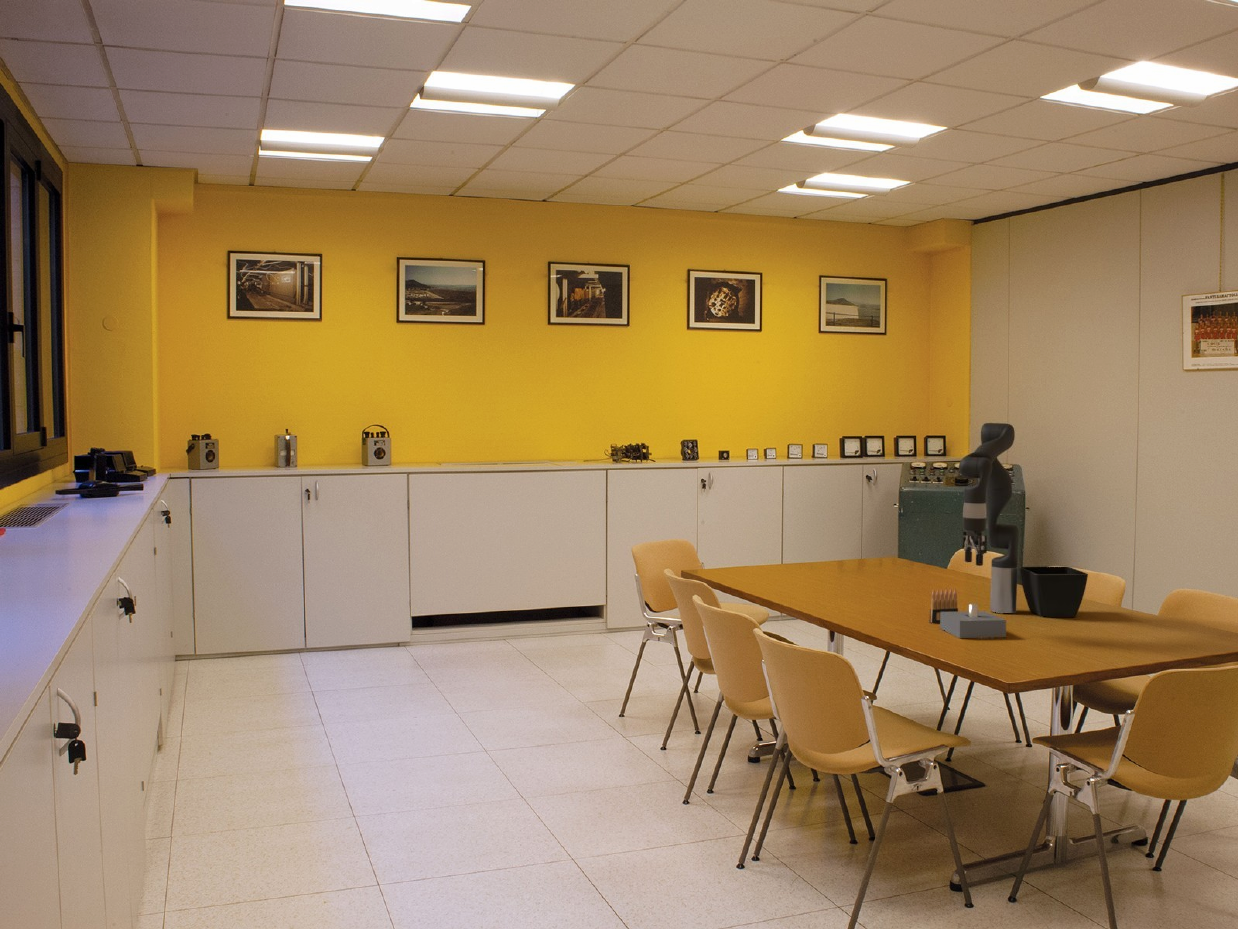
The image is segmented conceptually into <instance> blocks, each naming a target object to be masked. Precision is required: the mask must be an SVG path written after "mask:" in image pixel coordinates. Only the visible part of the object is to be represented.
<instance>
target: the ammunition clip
mask: <svg viewBox="0 0 1238 929" xmlns="http://www.w3.org/2000/svg"><path fill="white" fill-rule="evenodd" d="M952 590H953V589H951V588H950V590H949V592H948V590H947V588H946V589H945V591H944V590H943V589H941V590H940V591H939V589H937V590H936V592H935V589H933V590H932V592H931V601H930V609H929V620H928V621H929V624H932V623H938V624H940V612H959V608H958V596H957V595H958V594H957V593H958V592H957V590H956V588H954V590H953V591H952Z"/></svg>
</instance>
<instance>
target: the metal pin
mask: <svg viewBox="0 0 1238 929" xmlns="http://www.w3.org/2000/svg"><path fill="white" fill-rule="evenodd" d="M967 611H968V617H978V611H979V604H977V603H968V610H967Z"/></svg>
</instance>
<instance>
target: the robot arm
mask: <svg viewBox="0 0 1238 929" xmlns="http://www.w3.org/2000/svg"><path fill="white" fill-rule="evenodd" d="M1015 435H1016V434H1015V428H1014V427H1013V425H1012V424H1009V423H1006V422H1005V423H1004V422H1001V423H1000V422H985V423H984V424H982V426H981V429H980V442H981V443H980V445H979V446H977V448H976V449H975V450H974V452H971V453H968V454H967V455H965V456H964V457H963V458H962V459H961V460H960V462H959V465H958V472H959V475H961V476H962V477H963V478H966V479H979V480H978V482H977V483H975V484H969V485H966V486H965V487H964V490H963V507H962V508H963V509H962V529H963V531H962V532H961V549H963V551H964V562H965V563H972V562H973V560H972V559H973V551H972V550H974V551H975V565H976V566H979V567H982V566H983V565H984V555H985V554H987V553H988V546H987V545H989V547H990V548H992V549H1002V550H1003V549H1004V550H1008V551H1007V553H1005V554H1003V555H1001V556H1000V555H999V556H997V557H994V558H992V559H991V563H990V564H991V568H990V569H991V571H990V599H989V600H990V605H989V606H990V607H989V610H990V612H992V613H995V612H996V614H1003V613H1013V614H1016V613H1017V606H1018V604H1017V602H1018V601H1017V600H1018V558H1019V557H1018V556H1019V554H1018V553H1019V543H1020V542H1019V540H1020V530H1019V527H1018V526H1017V525H1016V524H1002V523H1001V524H1000V523H998V519H999V517H1000V515H1001V513H1002V512H1003V510H1004V508H1006V506H1007V505H1008V504H1009V502H1010V500H1011V499H1012V497H1013V485H1012V484H1013V483H1012V480H1013V479H1012V477H1011V475H1010V474H1009V471H1008V470H1007V469H1006V468H1005V467H1004V465H1003V464H1002V463H1001V461H1000V460H999V459H998V457H999V456H1000V455H1002V454H1003V453H1005V452H1007V451H1008V450H1009V449H1010V448H1011V447H1013V445H1014V442H1015ZM986 530H987V535H983V533H982V532H984V531H986Z"/></svg>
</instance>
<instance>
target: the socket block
mask: <svg viewBox="0 0 1238 929" xmlns="http://www.w3.org/2000/svg"><path fill="white" fill-rule="evenodd" d="M939 630H941V631H943V630H945V631H946V633H947V632H948V633H947V634H949V633H951V634H953V635H954V636H953V635H952V636H953V637H955V636H956V638H957V637H959V638H978V639H989V638H988V637H991V638H990V639H995V638H994V637H1006V638H1007V620H1006V619H1004V618H1002V617H999V616H997V615H994V614H993V613H990V612H987V611H986V610H982V611H981V610H978V617H968V610H967V611H958V612H940V623H939ZM945 631H944V632H945ZM951 634H950V635H951ZM981 637H982V638H981ZM984 637H985V638H984ZM959 638H958V639H959Z"/></svg>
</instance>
